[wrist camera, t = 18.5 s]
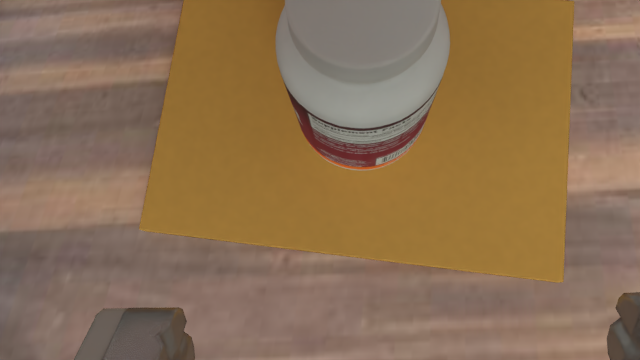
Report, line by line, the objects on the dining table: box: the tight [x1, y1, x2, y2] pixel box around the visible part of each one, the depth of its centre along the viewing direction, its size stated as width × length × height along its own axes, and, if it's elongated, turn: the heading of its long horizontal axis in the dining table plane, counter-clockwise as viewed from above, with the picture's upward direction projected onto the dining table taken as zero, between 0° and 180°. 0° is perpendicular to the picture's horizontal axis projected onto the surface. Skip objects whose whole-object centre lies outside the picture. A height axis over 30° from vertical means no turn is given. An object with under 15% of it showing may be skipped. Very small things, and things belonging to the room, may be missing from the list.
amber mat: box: [139, 0, 574, 282], centre depth 27 cm, size 20×14×1 cm
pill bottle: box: [276, 0, 450, 171], centre depth 21 cm, size 6×6×11 cm
